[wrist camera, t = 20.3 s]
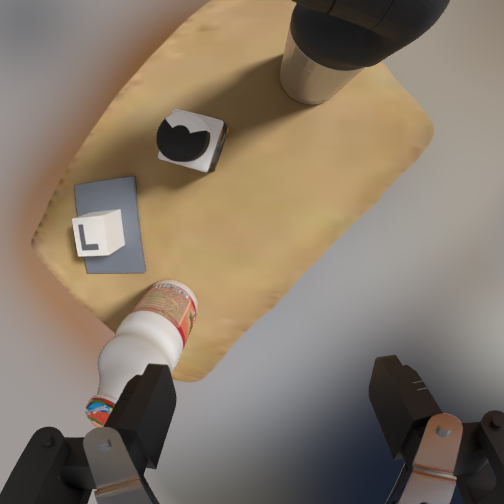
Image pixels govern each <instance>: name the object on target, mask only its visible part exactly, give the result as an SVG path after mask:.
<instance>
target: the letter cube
mask: <svg viewBox="0 0 504 504" xmlns="http://www.w3.org/2000/svg"><path fill="white" fill-rule="evenodd" d="M72 222H73V229H74V236H75V242H76V247H77V253H78V256H104V255H110V254H112V253H113V252H115V251H116V250H118V249H119V248H121V247H122V246H124V245H125V241H124V234H123V226H122V218H121V209H117V210H108V211H99V212H91V213H88V214H85V215H82V216H79V217H76V218H73V219H72Z"/></svg>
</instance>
